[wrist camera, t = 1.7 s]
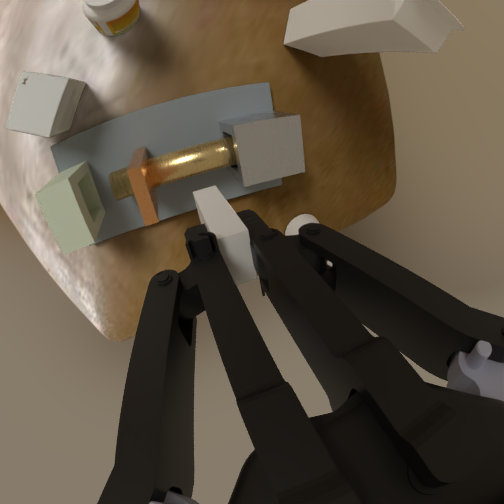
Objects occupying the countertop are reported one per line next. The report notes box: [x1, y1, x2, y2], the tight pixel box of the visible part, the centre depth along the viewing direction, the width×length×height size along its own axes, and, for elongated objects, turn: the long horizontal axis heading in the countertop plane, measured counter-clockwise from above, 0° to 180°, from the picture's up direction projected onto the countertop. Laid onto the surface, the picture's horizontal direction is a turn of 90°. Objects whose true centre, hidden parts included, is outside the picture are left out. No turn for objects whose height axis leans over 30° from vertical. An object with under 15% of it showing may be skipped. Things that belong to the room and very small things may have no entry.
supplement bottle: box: [83, 0, 140, 36], centre depth 15 cm, size 5×5×10 cm
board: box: [51, 82, 282, 246], centre depth 30 cm, size 14×27×1 cm, turn 99°
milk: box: [283, 0, 465, 57], centre depth 18 cm, size 6×6×22 cm
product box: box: [6, 71, 86, 138], centre depth 19 cm, size 6×6×7 cm
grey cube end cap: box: [218, 111, 305, 187], centre depth 29 cm, size 6×7×7 cm
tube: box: [109, 136, 237, 226], centre depth 26 cm, size 5×20×10 cm, turn 99°
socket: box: [35, 160, 106, 255], centre depth 24 cm, size 7×4×8 cm, turn 9°
